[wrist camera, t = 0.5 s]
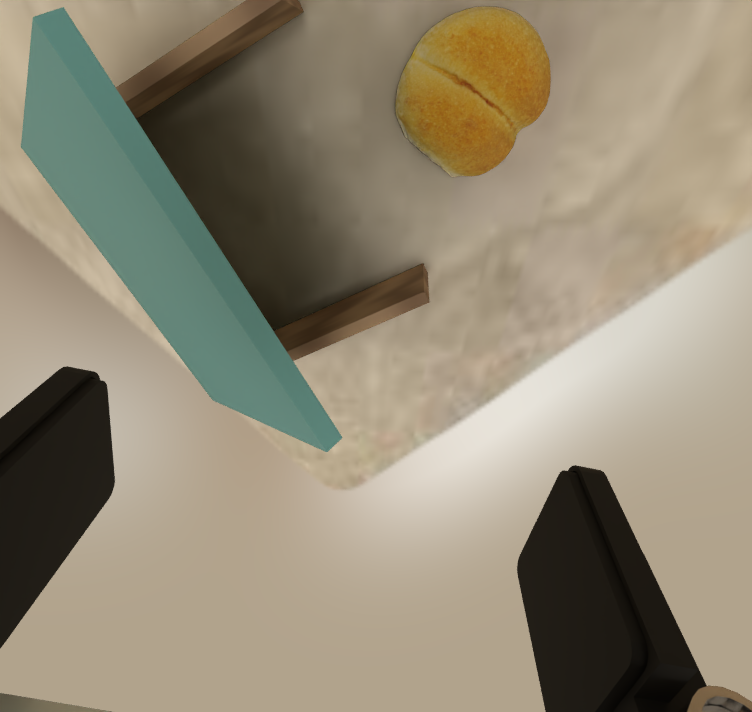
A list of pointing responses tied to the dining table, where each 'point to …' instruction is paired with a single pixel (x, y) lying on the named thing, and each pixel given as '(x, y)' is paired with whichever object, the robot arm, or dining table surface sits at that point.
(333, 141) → the dining table surface
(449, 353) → the dining table surface
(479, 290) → the dining table surface
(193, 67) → the brown wooden box
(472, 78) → the bread roll
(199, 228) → the lid
